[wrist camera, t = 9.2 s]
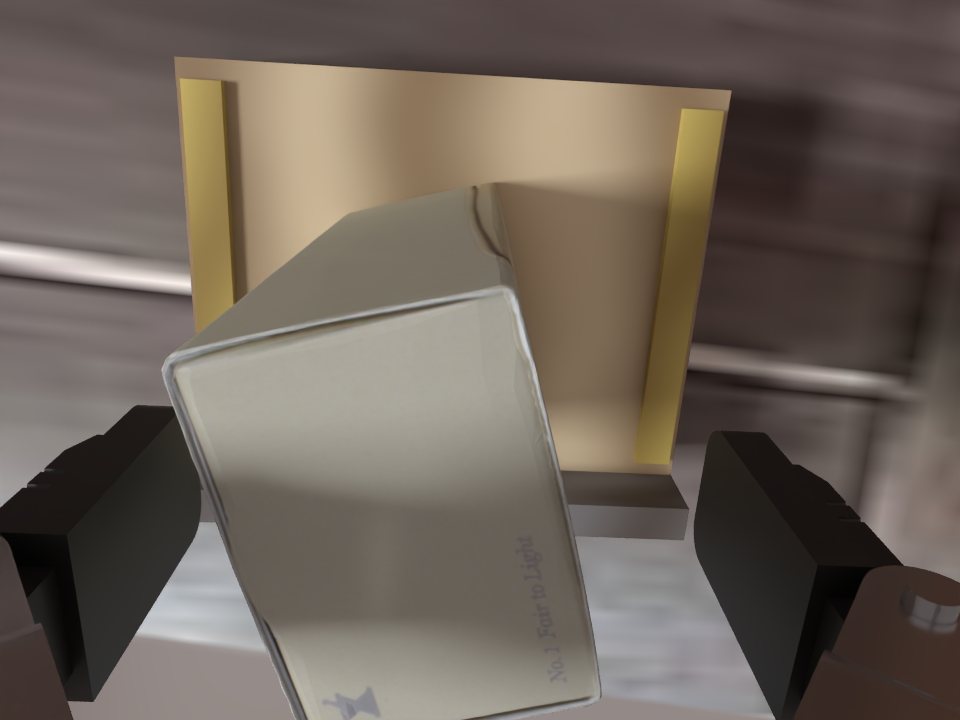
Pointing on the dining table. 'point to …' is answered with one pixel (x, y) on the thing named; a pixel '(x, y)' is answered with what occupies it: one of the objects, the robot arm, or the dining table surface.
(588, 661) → the skincare box
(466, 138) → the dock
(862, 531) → the robot arm
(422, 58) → the dining table surface
